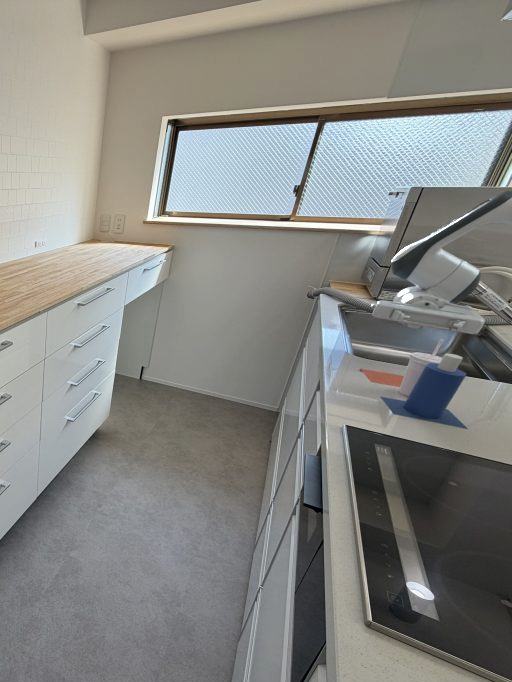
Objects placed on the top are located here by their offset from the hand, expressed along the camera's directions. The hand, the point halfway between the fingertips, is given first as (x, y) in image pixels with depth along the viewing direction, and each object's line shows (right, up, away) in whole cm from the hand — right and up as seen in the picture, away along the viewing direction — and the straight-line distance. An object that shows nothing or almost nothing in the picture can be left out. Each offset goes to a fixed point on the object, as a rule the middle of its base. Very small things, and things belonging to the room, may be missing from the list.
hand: (429, 323), depth 99 cm
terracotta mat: (-4, -14, +4) cm, 15 cm away
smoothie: (-8, -17, -2) cm, 19 cm away
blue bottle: (-13, -20, -10) cm, 26 cm away
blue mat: (-13, -21, -10) cm, 27 cm away
